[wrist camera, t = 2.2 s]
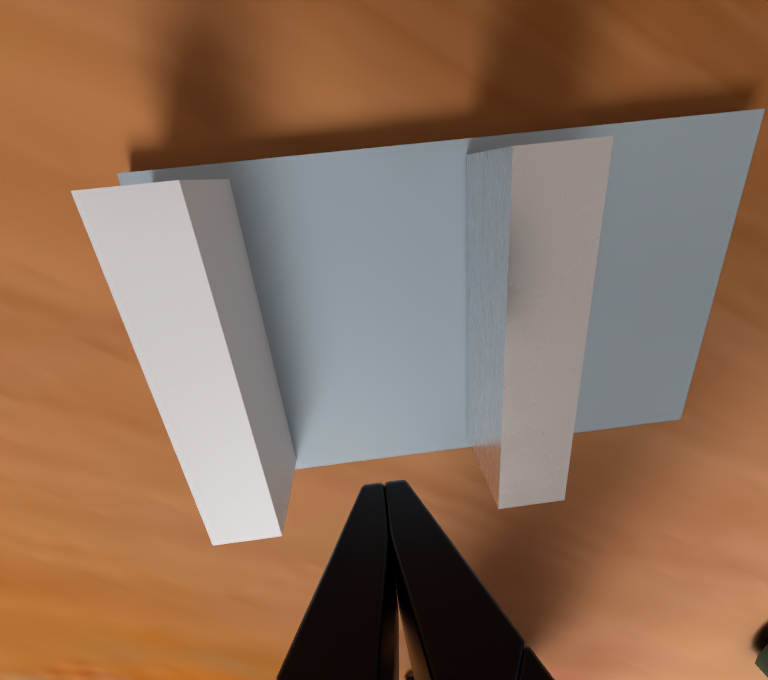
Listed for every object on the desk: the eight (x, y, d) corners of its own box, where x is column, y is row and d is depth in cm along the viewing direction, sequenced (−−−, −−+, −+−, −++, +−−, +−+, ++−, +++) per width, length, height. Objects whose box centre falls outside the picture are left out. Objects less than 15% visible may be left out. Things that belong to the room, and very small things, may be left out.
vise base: (228, 466, 18) (189, 558, 14) (129, 173, 13) (16, 171, 9) (667, 410, 19) (763, 480, 15) (743, 111, 14) (927, 81, 9)
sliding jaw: (467, 440, 18) (498, 509, 14) (466, 154, 13) (513, 146, 9) (520, 433, 18) (564, 500, 14) (539, 147, 13) (613, 135, 9)
